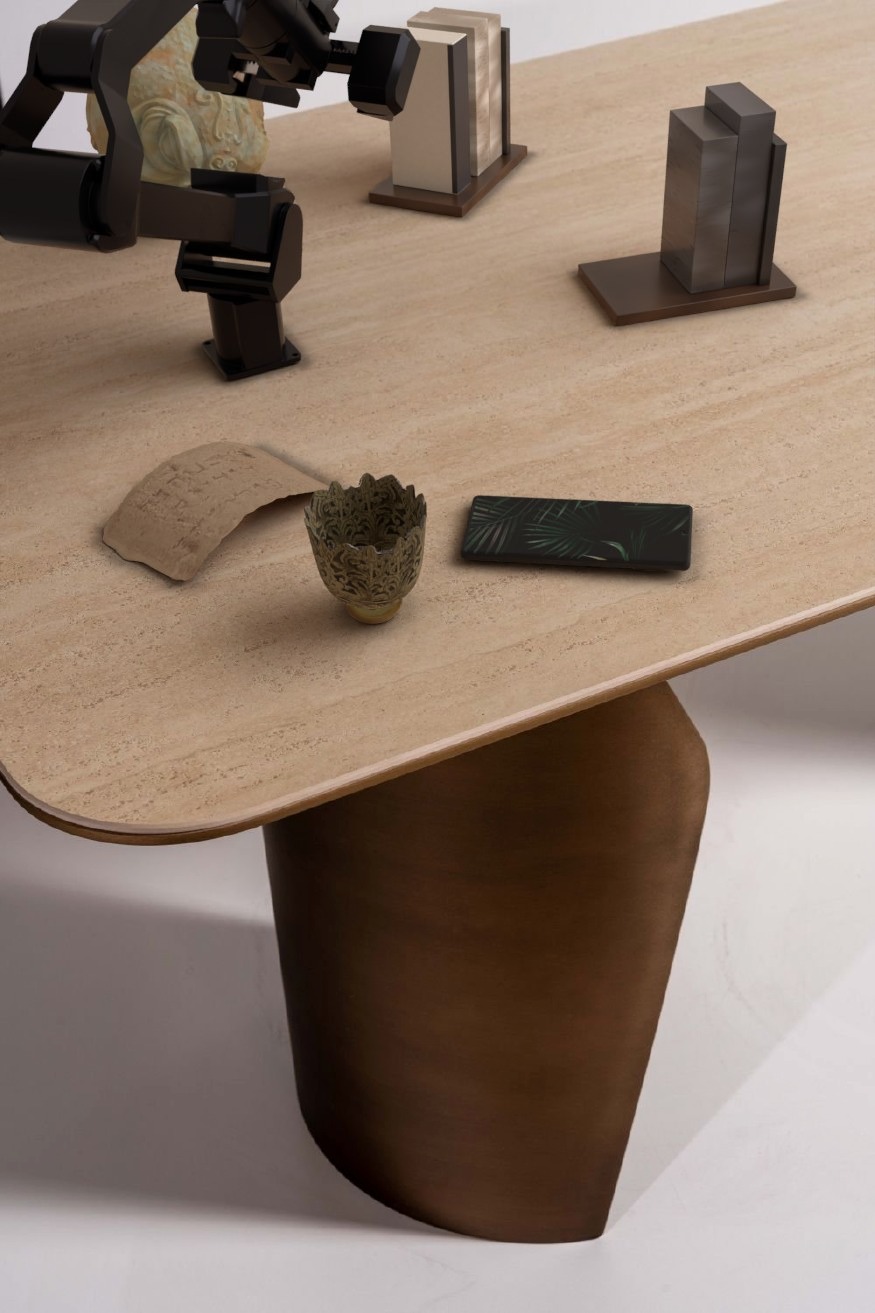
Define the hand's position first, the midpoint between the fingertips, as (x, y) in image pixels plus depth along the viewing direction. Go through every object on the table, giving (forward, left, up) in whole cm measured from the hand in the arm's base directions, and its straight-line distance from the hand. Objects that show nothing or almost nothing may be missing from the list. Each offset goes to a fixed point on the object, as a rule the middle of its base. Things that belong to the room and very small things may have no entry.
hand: (344, 108), depth 121 cm
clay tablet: (-33, +25, -13) cm, 43 cm away
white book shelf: (+11, -15, -13) cm, 23 cm away
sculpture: (+20, +9, -13) cm, 26 cm away
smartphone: (-48, +5, -13) cm, 50 cm away
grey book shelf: (-21, -22, -13) cm, 33 cm away
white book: (+8, -12, -12) cm, 19 cm away
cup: (-48, +20, -13) cm, 54 cm away
